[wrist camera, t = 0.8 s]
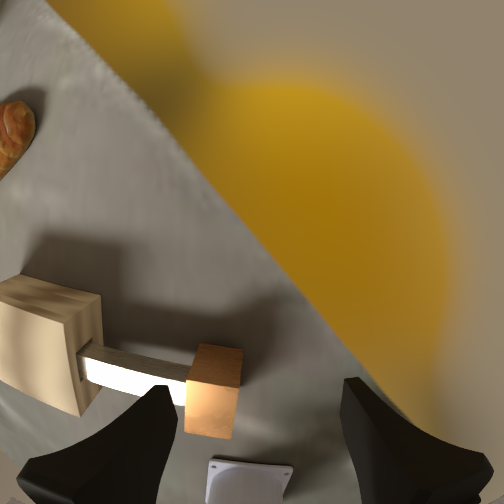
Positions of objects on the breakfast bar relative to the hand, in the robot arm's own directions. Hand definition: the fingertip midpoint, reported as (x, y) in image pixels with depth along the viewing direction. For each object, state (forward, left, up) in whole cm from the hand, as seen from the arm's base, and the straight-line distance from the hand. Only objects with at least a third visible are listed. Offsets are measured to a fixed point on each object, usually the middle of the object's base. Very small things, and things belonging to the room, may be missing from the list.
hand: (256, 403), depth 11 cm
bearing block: (-5, +16, -9) cm, 19 cm away
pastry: (+10, +24, -10) cm, 28 cm away
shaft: (-5, +9, -9) cm, 13 cm away
